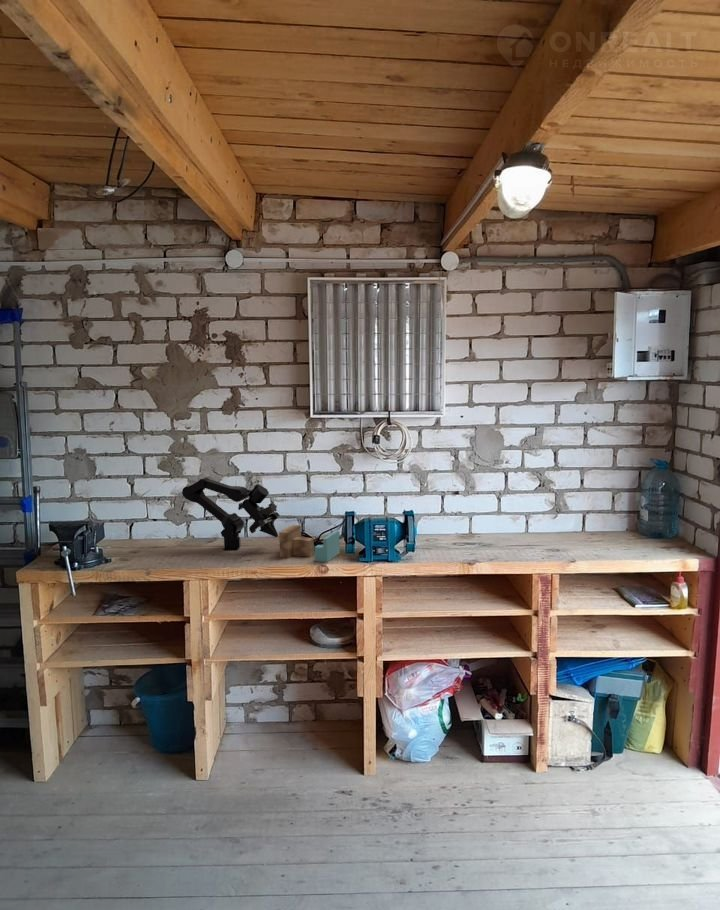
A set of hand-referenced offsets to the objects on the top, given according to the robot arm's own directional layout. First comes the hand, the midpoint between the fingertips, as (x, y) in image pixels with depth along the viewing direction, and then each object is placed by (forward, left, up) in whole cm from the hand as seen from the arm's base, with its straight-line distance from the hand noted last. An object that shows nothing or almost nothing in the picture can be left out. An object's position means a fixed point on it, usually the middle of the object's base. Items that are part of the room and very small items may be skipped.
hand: (277, 536), depth 277 cm
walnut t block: (+10, -3, -7) cm, 13 cm away
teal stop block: (+23, -7, -7) cm, 25 cm away
